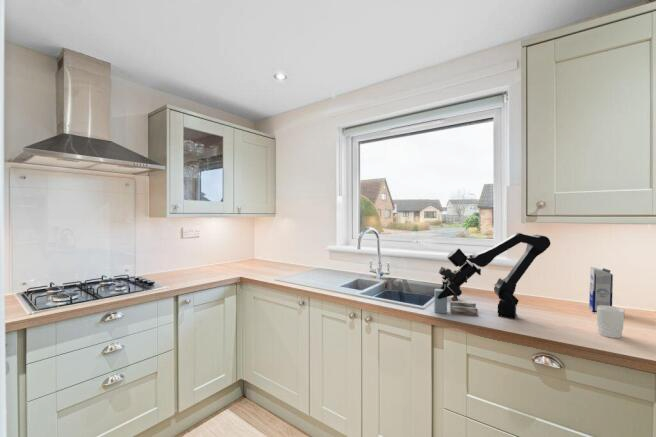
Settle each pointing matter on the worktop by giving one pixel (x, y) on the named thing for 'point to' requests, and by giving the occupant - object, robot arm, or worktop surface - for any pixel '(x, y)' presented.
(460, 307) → the bottom track
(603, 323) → the white cup
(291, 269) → the worktop surface
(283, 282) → the worktop surface
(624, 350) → the worktop surface
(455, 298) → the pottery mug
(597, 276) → the milk carton
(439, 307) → the grey rectangular block
